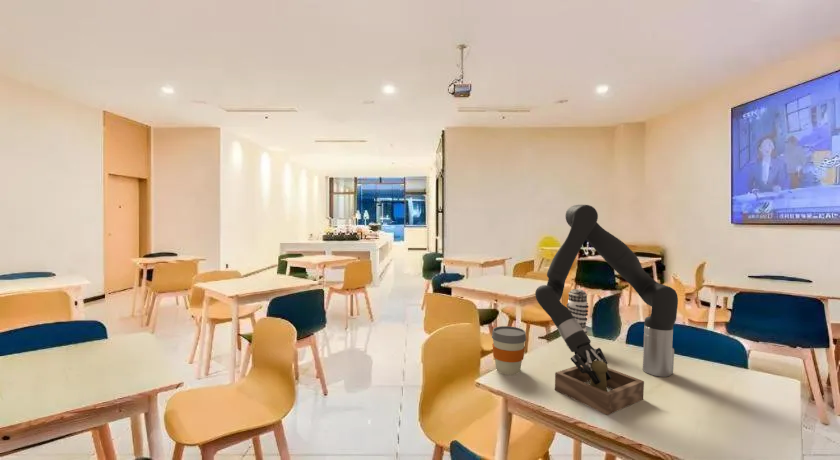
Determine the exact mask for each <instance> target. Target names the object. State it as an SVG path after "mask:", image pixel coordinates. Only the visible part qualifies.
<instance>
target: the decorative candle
mask: <svg viewBox="0 0 840 460" xmlns="http://www.w3.org/2000/svg"><path fill="white" fill-rule="evenodd" d="M567 294H568V300H567V303H566V307H567V308H568V309H569V311H570V312H571V314H572V315H573V317H574V318H575V319H576V321H577V322H578V323H579V324H580V326H581V327H582V329H583V330H584V332H585V333H586V334H587V333H588V331H587V322H588V318H587V316H589V314H588V312H589V311H588V308H589V307H590V306H589V303H588V300H587V299H588V298H587V297H588V294H587V293H586V291H585V290H583V289H578V288H575V289H570V291H569V292H567ZM565 346H567V344H566V343H565Z"/></svg>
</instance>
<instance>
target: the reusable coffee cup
mask: <svg viewBox="0 0 840 460" xmlns="http://www.w3.org/2000/svg"><path fill="white" fill-rule="evenodd" d="M526 334H527V333H526V330H524V329H523V328H520V327H516V326H508V325H502V326H495V327H494V328H492V332H491V339H492V341H493V342H492V354H493V357H494V362H495V370H496V369H497V370H496V372H498V373H499V374H503V375H507V376H514V375H515V376H516V375H518V374H520V373H521V369H522V367H521V366H522V362H523V360H524V357H525V351H526V346H525V342H526V341H527V337H526Z"/></svg>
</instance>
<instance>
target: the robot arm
mask: <svg viewBox="0 0 840 460" xmlns="http://www.w3.org/2000/svg"><path fill="white" fill-rule="evenodd" d="M598 219H599V214H598V211H597V210H596V208H595V207H594V206H592V205H589V204H574V205H571V206H570V207H568V209H567V210H566V212H565V222H566V223H567V224H568V226H569V227H570V230H569V233H568V234H567V237H566V239H565V240H564V242H563V243H562V244H561V246H560V247H559V249H558V250H557V251H556V253H555V255H554V256H553V258H552V260H551V263H550V265H549V267H548V269H547V272H546V277H547V278H548V279H547V283H546V285H545V284H543V285H540V286H538V287H537V288H536V290H535V291H534V292H535V295H534V297H535V299H536V301H537V303H538V304H539V306H540V307H541V308H542V309H543V311H544V312H545V313H546V314H547V315H548V316H549V317H550V319H551V320H552V322H553V324H554V326H555V327H556V328H557V330H558V333H559V335H560V336H561V338H562V339H563V341H564V342H565V345H566V344H567V345H566V346H567V347H568V349H569V350H570V352H572V353H574V355H572V356H571V357H570V360H571V362H573V364H574V365H575V366H577V368H578V369H579V370H580V371H581V372H582V373H586V374H588V375H589V376H590V378H591V379H592V381H593V382H594V383H595V384H596V385H597V384H599V383H600V382H601V380H600V379H599V377H598V376H597V374H596V372H595V371H593V367H592V361H602V362H605V363H606V364H607V365H608V363H609V362H608V361H607V359H606V356H605V355H604V353H603V351H602V349H601V347H597V348H594V347H593V346H592V345H591V341H592V340H591V339H590V338H589V336H588V335H587V333H585V332H584V330H583V329H582V327H581V326H580V324H579V323H578V322H577V321H576V319H575V318H574V317H573V315H572V314H571V312H570V311H569V308H567V305H564V304H563V303H562V302H561V299H562V297H563V294H564V289H565V284H566V280H567V278H568V276H569V273H570V271H571V268H572V267H573V264H574V262H575V260H576V258H577V255H578V254H579V252H580V250H581V249H582V247H583V245H584V243H585V241H587V242H588V243H589V244H590V245H591V247H592V248H593V249H594V250H595V251H596V252H597V253H598V254H599V255H600V256H601V258H603V260H604V261H605V263H607V264H608V265H609V266H610V267H611V268H612V269H613V270H614V271H616V273H617V274H618V275H619V276H620V277H622V279H624V280H625V281H626V282H628V283H629V284H630V286H631V287H632V289H634V290H635V292H636V294H637V295H638V296H639V297H640V298H641V300H642V302H644V303H645V304H646V305H648V306H649V307H651V310H650V311H651V312H650V315H649V316H647V317H645V318H644V328H643V332H644V333H643V349H642V350H643V353H642V370H643V372H645V373H647V374H648V375H652V376H655V377H664V378H665V377H666V378H667V377H670V376H671V375H673V374H674V364H675V363H674V361H675V348H674V347H673V335H674V324H675V323H676V321H677V314H678V304H679V303H678V302H679V299H678V294H677V291H676V290H675V289H674V288H672V287H671V286H668V285H666V284H662V283H660V282H657V281H656V280H654V278H652V276H650V274H648V273H647V272H646V271H645V269H644V268H643V266H642V263H641V262H640V259H639V258H638V256H637V255H636V254H635V253H634V251H632V249H631V248H630V247H629V246H628V245H627V244H626V243H624V242H623V241H622V240H621V239H620V238H618V237H617V236H615V235H614V234H611V233H610V232H609V231H607V230H606V229H604V227H602V226H601V225H600V224H599V223H598ZM580 365H582V367H583V368H582V367H581V366H580ZM588 367H589V368H588ZM610 379H611V375H610V374H609V372H608V371H607V372H606V381H608V380H610Z"/></svg>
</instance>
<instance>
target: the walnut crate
mask: <svg viewBox="0 0 840 460" xmlns="http://www.w3.org/2000/svg"><path fill="white" fill-rule="evenodd" d="M580 366H581V367H582V365H580ZM582 368H583V367H582ZM588 368H589V367H588ZM607 371H608V372H609V374H610V375H611V379H610V380H608V381H607V388H609V389H611V390H609V391H608V390H607V391H608V392H605V391H603V390H600V389H598V388H596V387H593V386H591V385H590V383H588V382H590V380H591V378H590V376H589V375H588V374H586V373H582V372H581V371H580V370H579V369H578V368H577V366H576V365H575V366H572V367H569V368H565V369H562V370H559V371H555V373H554V375H555V376H554V377H555V378H554V390H555V391H556V392H559V393H561V394H562V395H565V396H567V397H569V398H570V399H573V400H575V401H577V402H579V403H582V404H583V405H585V406H587V407H589V408H592V409H593V410H596V411H598V412H599V413H602V414H604V415H606V416H608V415H612V414H614V413H615V412H618V411H621V410H623V409H625V408H627V407H629V406H632V405H634V404H636V403H639V402H640V401H641V402H642V401H643V400H644V393H645V392H644V390H645V381H644V380H642V379H639V378H637V377H633V376H631V375H629V374H626V373H623V372H620V371H618V370H616V369H613V368H609V367H608V370H607Z"/></svg>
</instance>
